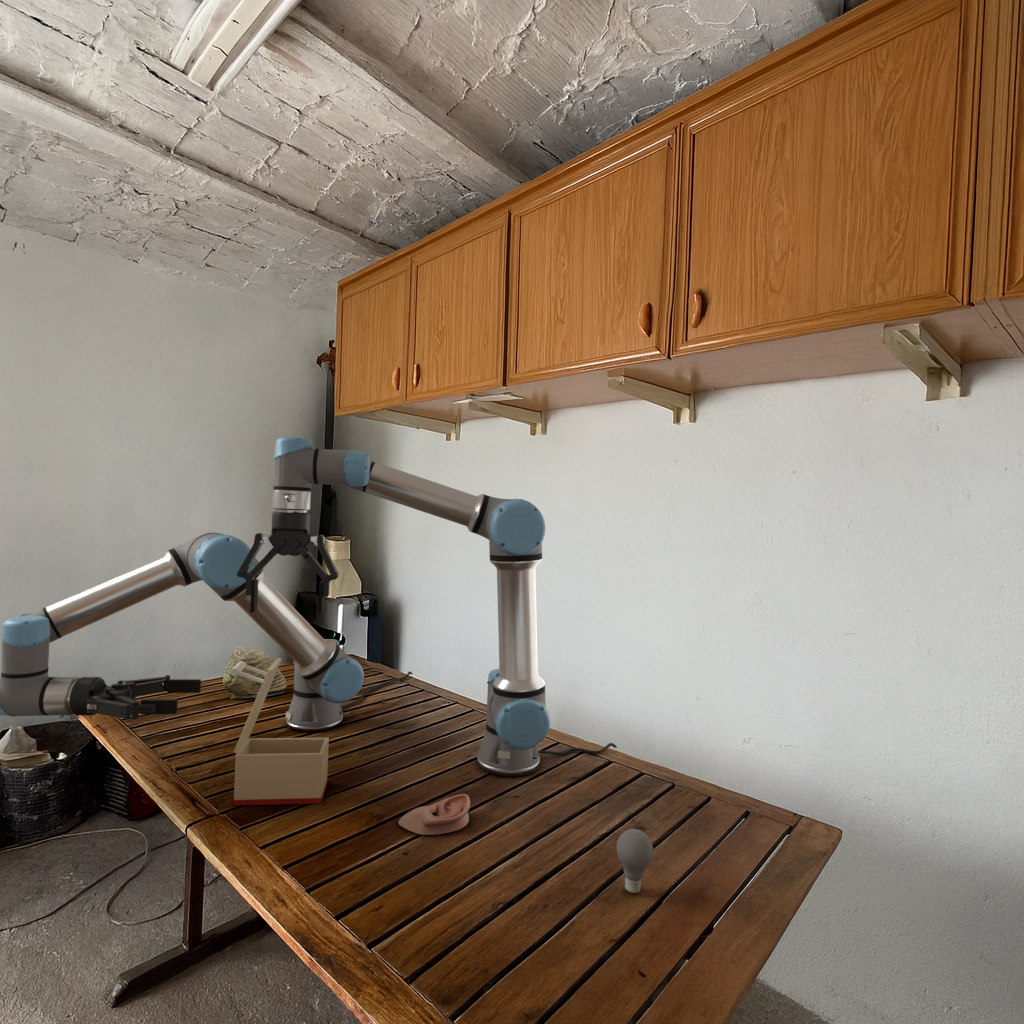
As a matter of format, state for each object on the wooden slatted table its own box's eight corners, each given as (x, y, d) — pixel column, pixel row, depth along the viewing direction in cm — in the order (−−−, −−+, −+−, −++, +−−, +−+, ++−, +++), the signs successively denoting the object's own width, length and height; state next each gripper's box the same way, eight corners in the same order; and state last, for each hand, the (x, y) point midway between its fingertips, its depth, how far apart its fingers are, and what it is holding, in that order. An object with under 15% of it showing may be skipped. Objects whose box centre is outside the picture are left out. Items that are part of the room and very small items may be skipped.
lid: (281, 658, 138) (246, 646, 137) (272, 670, 129) (234, 657, 128) (249, 736, 137) (214, 724, 136) (237, 753, 128) (199, 741, 127)
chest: (327, 783, 140) (329, 737, 140) (320, 803, 131) (322, 754, 131) (245, 784, 138) (247, 738, 137) (233, 805, 128) (235, 755, 128)
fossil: (218, 695, 195) (220, 647, 195) (278, 685, 208) (279, 640, 207) (228, 703, 189) (230, 653, 188) (289, 692, 201) (290, 645, 201)
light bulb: (610, 879, 108) (613, 822, 108) (644, 879, 109) (647, 822, 109) (619, 902, 102) (622, 840, 102) (655, 901, 103) (658, 840, 103)
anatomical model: (392, 810, 121) (414, 784, 132) (391, 830, 121) (413, 803, 132) (459, 820, 118) (475, 792, 130) (458, 841, 118) (474, 812, 130)
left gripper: (106, 695, 140) (208, 695, 143) (40, 737, 116) (164, 736, 119) (107, 661, 140) (209, 662, 143) (41, 697, 116) (166, 696, 119)
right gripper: (223, 509, 128) (219, 614, 128) (350, 514, 131) (346, 616, 132) (234, 508, 135) (230, 607, 135) (353, 513, 139) (350, 609, 139)
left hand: (189, 695), depth 131 cm, fingers open, 13 cm apart
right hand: (287, 612), depth 134 cm, fingers open, 13 cm apart
